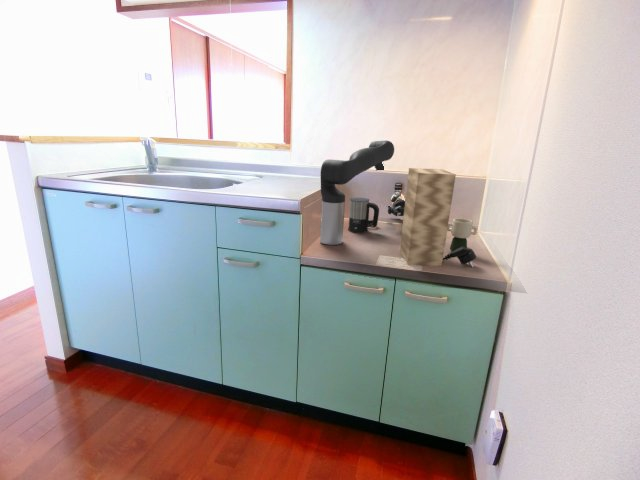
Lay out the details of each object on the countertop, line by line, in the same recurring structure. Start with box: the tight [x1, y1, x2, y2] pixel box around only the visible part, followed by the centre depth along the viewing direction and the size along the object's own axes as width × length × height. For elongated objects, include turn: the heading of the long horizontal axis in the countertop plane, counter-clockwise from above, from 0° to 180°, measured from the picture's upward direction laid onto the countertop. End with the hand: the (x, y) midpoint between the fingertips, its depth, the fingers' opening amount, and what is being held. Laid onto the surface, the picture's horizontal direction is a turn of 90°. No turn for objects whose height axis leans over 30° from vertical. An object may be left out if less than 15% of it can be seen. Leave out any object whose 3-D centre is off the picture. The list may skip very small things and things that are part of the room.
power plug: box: [443, 247, 477, 268], centre depth 124 cm, size 6×8×12 cm
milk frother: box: [347, 196, 380, 233], centre depth 162 cm, size 14×16×15 cm
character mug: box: [447, 217, 478, 252], centre depth 135 cm, size 11×7×13 cm, turn 64°
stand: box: [399, 167, 457, 267], centre depth 124 cm, size 12×15×32 cm
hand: (406, 214), depth 155 cm, fingers open, 8 cm apart
